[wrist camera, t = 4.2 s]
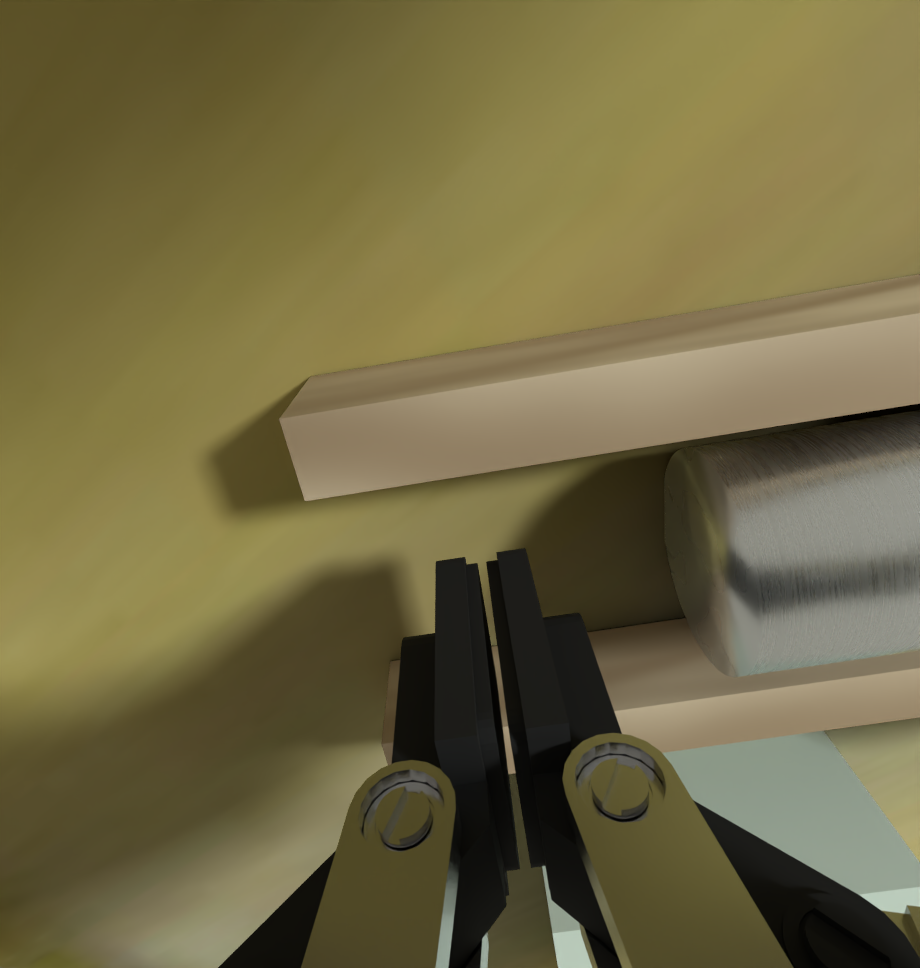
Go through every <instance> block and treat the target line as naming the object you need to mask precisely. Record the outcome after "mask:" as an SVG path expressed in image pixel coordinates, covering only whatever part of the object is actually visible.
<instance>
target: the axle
mask: <svg viewBox="0 0 920 968" xmlns="http://www.w3.org/2000/svg"><path fill="white" fill-rule="evenodd" d="M664 500H665V545H666V551H667V557H668V562H669V566H670V571H671V575H672V579H673V582H674V586H675V589H676V592H677V596H678V599H679V602H680V605H681V607H682V610H683V613H684V615H685V618H686V620H687V623H688V625H689V627H690V629H691V631H692V633H693V635H694V637H695V639H696V641H697V643H698V645H699V646H700V648H701V649H702V651H703V653H704V654H705V655H706V657H707V658H708V659H709V661H710V662H711V663H712V664H713V665H714V666H715V667H716V668H717V669H718V670H719V671H720V672H721V673H723V674H725V675H727V676H730V677H741V676H748V675H754V674H761V673H768V672H775V671H782V670H789V669H796V668H802V667H809V666H816V665H823V664H830V663H837V662H844V661H850V660H857V659H864V658H871V657H878V656H885V655H892V654H898V653H905V652H912V651H919V650H920V410H916V411H910V412H904V413H898V414H892V415H885V416H879V417H873V418H867V419H861V420H855V421H848V422H842V423H836V424H830V425H824V426H818V427H811V428H805V429H799V430H793V431H787V432H781V433H774V434H768V435H762V436H756V437H750V438H743V439H737V440H731V441H725V442H719V443H713V444H706V445H700V446H694V447H688V448H682V449H680V450H678V451H676V452H675V453H674V454H673V456H672V457H671V459H670V460H669V463H668V465H667V468H666V472H665V476H664Z"/></svg>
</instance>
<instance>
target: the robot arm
mask: <svg viewBox="0 0 920 968" xmlns="http://www.w3.org/2000/svg"><path fill="white" fill-rule="evenodd" d="M497 559H498V560H495V561H488V562H486V563H487V570H488V578H489V586H490V593H491V601H492V608H493V616H494V623H495V631H496V639H497V646H498V654H499V661H500V669H501V677H502V684H503V692H504V699H505V707H506V714H507V721H508V728H509V735H510V742H511V748H512V754H513V760H514V766H515V772H516V778H517V784H518V790H519V796H520V803H521V809H522V815H523V821H524V827H525V833H526V839H527V845H528V851H529V857H530V863H531V868H533V867H541V866H545V867H546V873H547V879H548V885H549V890H550V895H551V900H552V901H553V902H554V903H556V904H557V905H558V906H559V907H560V908H562V909H563V910H564V911H565V912H567V913H568V914H569V915H570V916H571V917H573V918H574V919H575V920H576V921H578V922H579V925H580V931H581V935H582V938H583V941H584V944H585V947H586V950H587V953H588V956H589V959H590V962H591V965H592V968H920V907H918V906H910V905H907V906H906V909H905V912H904V913H897V912H889V911H881V910H880V909H879V908H877V907H876V906H874V905H873V904H871V903H870V902H869V901H867V900H866V899H864V898H863V897H862V896H860V895H858V894H857V893H855V892H853V891H851V890H850V889H848V888H846V887H844V886H843V885H841V884H839V883H837V882H836V881H834V880H832V879H830V878H829V877H827V876H825V875H823V874H822V873H820V872H818V871H816V870H815V869H813V868H811V867H809V866H808V865H806V864H804V863H802V862H801V861H799V860H797V859H795V858H794V857H792V856H790V855H788V854H787V853H785V852H783V851H781V850H780V849H778V848H776V847H774V846H773V845H771V844H769V843H767V842H766V841H764V840H762V839H760V838H759V837H757V836H755V835H753V834H752V833H750V832H748V831H746V830H745V829H743V828H741V827H739V826H738V825H736V824H734V823H732V822H731V821H729V820H727V819H725V818H724V817H722V816H720V815H718V814H717V813H715V812H713V811H711V810H710V809H708V808H706V807H704V806H703V805H701V804H699V803H697V802H696V801H694V800H693V799H692V798H691V796H690V794H689V793H688V791H687V789H686V788H685V786H684V784H683V783H682V781H681V779H680V778H679V776H678V774H677V773H676V771H675V769H674V768H673V766H672V764H671V763H670V762H669V761H668V760H667V758H666V757H665V756H664V755H663V753H662V752H661V751H659V750H658V749H657V748H655V747H654V746H652V745H651V744H650V743H648V742H647V741H644V740H642V739H639V738H637V737H634V736H632V735H627V734H622V732H621V729H620V727H619V724H618V721H617V718H616V715H615V712H614V709H613V706H612V703H611V700H610V697H609V695H608V692H607V689H606V686H605V683H604V680H603V677H602V674H601V671H600V668H599V665H598V663H597V660H596V657H595V654H594V651H593V648H592V645H591V642H590V639H589V636H588V634H587V631H586V628H585V625H584V622H583V619H582V617H581V615H580V613H572V614H565V615H559V616H552V617H545V618H543V617H542V613H541V609H540V605H539V600H538V597H537V592H536V588H535V584H534V580H533V576H532V572H531V568H530V564H529V560H528V556H527V552H526V549H525V548H523V549H516V550H509V551H503V552H497ZM517 869H520V866H519V857H518V848H517V840H516V832H515V824H514V816H513V807H512V799H511V791H510V783H509V774H508V766H507V758H506V750H505V741H504V733H503V725H502V717H501V709H500V700H499V692H498V684H497V677H496V671H495V665H494V659H493V653H492V647H491V641H490V635H489V629H488V623H487V617H486V611H485V605H484V599H483V594H482V588H481V582H480V576H479V570H478V564H477V563H474V564H468V565H467V564H466V559H465V557H462V558H455V559H448V560H442V561H436V600H435V633H433V634H426V635H419V636H412V637H405V638H403V640H402V646H401V657H400V669H399V681H398V693H397V704H396V716H395V728H394V740H393V752H392V764H391V765H388V766H386V767H383V768H381V769H380V770H378V771H377V772H376V773H374V774H373V775H371V776H370V777H369V778H367V779H366V781H365V782H364V783H363V784H362V786H361V787H360V788H359V789H358V790H357V792H356V793H355V795H354V798H353V800H352V802H351V804H350V806H349V809H348V812H347V816H346V819H345V822H344V826H343V829H342V832H341V836H340V839H339V842H338V846H337V849H336V851H335V852H334V853H333V854H332V855H331V856H330V857H329V858H328V859H327V860H326V861H325V862H324V863H323V864H322V865H321V866H320V867H319V868H318V869H317V870H316V871H315V872H314V873H313V874H312V875H311V876H310V877H309V878H308V879H307V880H306V881H305V882H304V883H303V884H302V885H301V886H300V887H299V888H298V889H297V890H296V891H295V892H294V893H293V894H292V895H291V896H290V897H289V898H288V899H287V900H286V901H285V902H284V903H283V904H282V905H281V906H280V907H279V908H278V909H277V910H276V911H275V912H274V913H273V914H272V915H271V916H270V917H269V918H268V919H267V920H266V921H265V922H264V923H263V924H262V925H261V926H260V927H259V928H258V929H257V930H256V931H255V932H254V933H253V934H252V935H251V936H250V937H249V938H248V939H247V940H246V941H245V942H244V943H243V944H242V945H241V946H240V947H239V948H238V949H237V950H236V951H234V952H233V953H232V954H231V955H230V956H229V957H228V958H227V959H226V960H225V961H224V962H223V963H222V964H221V965H220V966H219V967H218V968H487V965H488V949H489V942H488V930H489V929H490V928H491V926H492V925H493V923H494V922H495V921H496V919H497V918H498V917H499V915H500V914H501V912H502V911H503V910H504V908H505V907H506V895H509V890H508V880H507V871H509V870H517Z"/></svg>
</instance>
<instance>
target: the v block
mask: <svg viewBox="0 0 920 968" xmlns="http://www.w3.org/2000/svg"><path fill="white" fill-rule="evenodd" d="M663 755H664V756H665V757H666V758H667V760H668V761H669V762H670V763H671V764H672V766H673V768H674V769H675V771H676V773H677V774H678V776H679V778H680V779H681V781H682V783H683V784H684V786H685V788H686V789H687V791H688V793H689V794H690V796H691V798H692V799H693V800H694V801H696V802H697V803H699V804H701V805H703V806H704V807H706V808H708V809H710V810H711V811H713V812H715V813H717V814H718V815H720V816H722V817H724V818H725V819H727V820H729V821H731V822H732V823H734V824H736V825H738V826H739V827H741V828H743V829H745V830H746V831H748V832H750V833H752V834H753V835H755V836H757V837H759V838H760V839H762V840H764V841H766V842H767V843H769V844H771V845H773V846H774V847H776V848H778V849H780V850H781V851H783V852H785V853H787V854H788V855H790V856H792V857H794V858H795V859H797V860H799V861H801V862H802V863H804V864H806V865H808V866H809V867H811V868H813V869H815V870H816V871H818V872H820V873H822V874H823V875H825V876H827V877H829V878H830V879H832V880H834V881H836V882H837V883H839V884H841V885H843V886H844V887H846V888H848V889H850V890H851V891H853V892H855V893H857V894H858V895H860V896H862V897H863V898H864V899H866V900H867V901H869V902H870V903H871V904H873V905H874V906H876V907H877V908H879V909H880V910H881V911H889V912H897V913H904V912H905V909H906V906H907V905H910V906H918V907H920V862H919V861H918V859H917V858H916V857H915V855H914V854H913V853H912V851H911V850H910V848H909V847H908V846H907V844H906V843H905V842H904V840H903V839H902V837H901V836H900V835H899V833H898V832H897V831H896V829H895V828H894V826H893V825H892V824H891V822H890V821H889V820H888V818H887V817H886V816H885V814H884V813H883V811H882V810H881V809H880V807H879V806H878V805H877V803H876V802H875V800H874V799H873V798H872V796H871V795H870V794H869V792H868V791H867V789H866V788H865V787H864V785H863V784H862V783H861V781H860V780H859V778H858V777H857V776H856V774H855V773H854V772H853V770H852V769H851V768H850V766H849V765H848V763H847V762H846V761H845V759H844V758H843V757H842V755H841V754H840V752H839V751H838V750H837V748H836V747H835V746H834V744H833V743H832V741H831V740H830V739H829V737H828V736H827V735H826V733H825V732H824V731H817V732H810V733H803V734H796V735H788V736H781V737H774V738H767V739H759V740H752V741H745V742H738V743H731V744H723V745H716V746H709V747H702V748H694V749H687V750H680V751H673V752H665V753H663ZM542 869H543V876H544V882H545V888H546V895H547V901H548V908H549V914H550V920H551V927H552V933H553V940H554V946H555V952H556V958H557V964H558V968H592V965H591V962H590V959H589V956H588V953H587V950H586V947H585V944H584V941H583V938H582V935H581V931H580V925H579V922H578V921H576V920H575V919H574V918H573V917H571V916H570V915H569V914H568V913H567V912H565V911H564V910H563V909H562V908H560V907H559V906H558V905H557V904H556V903H554V902H553V901H552V900H551V895H550V890H549V885H548V879H547V873H546V867H545V866H542Z"/></svg>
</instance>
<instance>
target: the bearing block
mask: <svg viewBox="0 0 920 968" xmlns="http://www.w3.org/2000/svg"><path fill="white" fill-rule="evenodd" d="M919 403H920V274H918V275H912V276H906V277H900V278H894V279H888V280H882V281H876V282H870V283H864V284H859V285H853V286H847V287H841V288H835V289H829V290H823V291H817V292H811V293H805V294H799V295H793V296H787V297H781V298H775V299H769V300H763V301H757V302H751V303H745V304H739V305H733V306H727V307H722V308H716V309H710V310H704V311H698V312H692V313H686V314H680V315H674V316H668V317H662V318H656V319H650V320H644V321H638V322H632V323H626V324H620V325H614V326H608V327H602V328H596V329H591V330H585V331H579V332H573V333H567V334H561V335H555V336H549V337H543V338H537V339H531V340H525V341H519V342H513V343H507V344H501V345H495V346H489V347H483V348H477V349H471V350H465V351H459V352H454V353H448V354H442V355H436V356H430V357H424V358H418V359H412V360H406V361H400V362H394V363H388V364H382V365H376V366H370V367H364V368H358V369H352V370H346V371H340V372H334V373H328V374H323V375H317V376H311V377H310V378H309V379H308V380H307V382H306V383H305V384H304V386H303V387H302V389H301V390H300V391H299V393H298V394H297V395H296V397H295V398H294V399H293V401H292V402H291V403H290V405H289V406H288V408H287V409H286V410H285V412H284V413H283V414H282V416H281V417H280V418H279V420H280V424H281V427H282V430H283V433H284V436H285V440H286V443H287V446H288V449H289V452H290V455H291V459H292V462H293V465H294V468H295V471H296V474H297V478H298V481H299V484H300V487H301V490H302V493H303V497H304V500H305V501H310V500H316V499H323V498H329V497H335V496H341V495H348V494H354V493H360V492H367V491H373V490H379V489H385V488H392V487H398V486H404V485H411V484H417V483H423V482H429V481H436V480H442V479H448V478H455V477H461V476H467V475H473V474H480V473H486V472H492V471H498V470H505V469H511V468H517V467H524V466H530V465H536V464H542V463H549V462H555V461H561V460H568V459H574V458H580V457H586V456H593V455H599V454H605V453H612V452H618V451H624V450H630V449H637V448H643V447H649V446H656V445H662V444H668V443H674V442H681V441H687V440H693V439H699V438H706V437H712V436H718V435H725V434H731V433H737V432H743V431H750V430H756V429H762V428H769V427H775V426H781V425H787V424H794V423H800V422H806V421H813V420H819V419H825V418H831V417H838V416H844V415H850V414H857V413H863V412H869V411H875V410H882V409H888V408H894V407H900V406H907V405H913V404H919ZM587 634H588V636H589V639H590V642H591V645H592V648H593V651H594V654H595V657H596V660H597V663H598V665H599V668H600V671H601V674H602V677H603V680H604V683H605V686H606V689H607V692H608V695H609V697H610V700H611V703H612V706H613V709H614V712H615V715H616V718H617V721H618V724H619V727H620V729H621V732H622V734H627V735H632V736H634V737H637V738H639V739H642V740H644V741H647V742H648V743H650V744H651V745H652V746H654V747H655V748H657V749H658V750H659V751H661V752H662V753H665V752H673V751H680V750H687V749H694V748H702V747H709V746H716V745H723V744H731V743H738V742H745V741H752V740H759V739H767V738H774V737H781V736H788V735H796V734H803V733H810V732H817V731H825V730H832V729H839V728H846V727H854V726H861V725H868V724H875V723H883V722H890V721H897V720H904V719H912V718H919V717H920V650H919V651H912V652H905V653H898V654H892V655H885V656H878V657H871V658H864V659H857V660H850V661H844V662H837V663H830V664H823V665H816V666H809V667H802V668H796V669H789V670H782V671H775V672H768V673H761V674H754V675H748V676H741V677H730V676H727V675H725V674H723V673H721V672H720V671H719V670H718V669H717V668H716V667H715V666H714V665H713V664H712V663H711V662H710V661H709V659H708V658H707V657H706V655H705V654H704V653H703V651H702V649H701V648H700V646H699V645H698V643H697V641H696V639H695V637H694V635H693V633H692V631H691V629H690V627H689V625H688V623H687V620H686V618H683V619H676V620H669V621H662V622H655V623H649V624H642V625H635V626H628V627H621V628H615V629H608V630H601V631H594V632H587ZM492 653H493V659H494V665H495V671H496V677H497V684H498V692H499V700H500V709H501V717H502V725H503V733H504V741H505V750H506V758H507V766H508V774H513V773H516V772H515V766H514V760H513V754H512V748H511V742H510V735H509V728H508V721H507V714H506V707H505V699H504V692H503V684H502V677H501V669H500V661H499V654H498V646H492ZM399 669H400V660H397V661H390V668H389V678H388V687H387V697H386V706H385V716H384V725H383V735H382V747H383V750H384V754H385V757H386V760H387V763H388V765H391V764H392V752H393V740H394V728H395V716H396V704H397V693H398V681H399Z"/></svg>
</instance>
